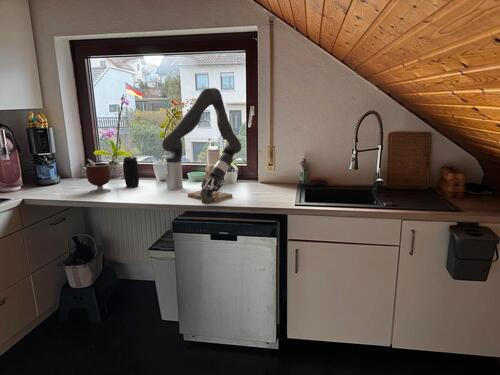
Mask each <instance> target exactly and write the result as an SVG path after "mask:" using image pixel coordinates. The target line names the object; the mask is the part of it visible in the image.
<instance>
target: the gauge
mask: <svg viewBox="0 0 500 375" xmlns="http://www.w3.org/2000/svg"><path fill="white" fill-rule="evenodd" d="M201 190H202V200H201V203H202V204H207V205H208V204H211V203H214V202H213V196H217V195H219V193H217V192H218V191H217V192H216V193H212V194H211V196H210V197H209V198H208V197H207V196H206V195H207V193H208V191H209V190H210V188H209V187H206V188H202V187H201Z"/></svg>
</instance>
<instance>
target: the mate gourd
mask: <svg viewBox="0 0 500 375" xmlns="http://www.w3.org/2000/svg"><path fill="white" fill-rule="evenodd" d="M87 161H88V162H89V164H86V165H85V173H86V174H85V175H86V178H87V182H88V183H90V184H91V185H92V186H95V187H96V188H95V189H91V190H90V191H89V193H90V194H92V195H100V194H108V193H111V192H112V189H110V188H104V185H106V184H108V183H109V182H110V180H111V177H112V176H111V166H110V164H109V163H108V162H107V163H106V162H98V163H97V162H94V161H93V160H91V159H89V158H87Z"/></svg>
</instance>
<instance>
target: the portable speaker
mask: <svg viewBox="0 0 500 375" xmlns="http://www.w3.org/2000/svg"><path fill="white" fill-rule="evenodd" d="M138 163H139V162H138V160H137V156H134V157H133V156H124V158H123V164H122V165H123V166H122V167H123V178H124V181H125V185H126V186H125V187H126V188H128V187H130V188H132V189H133V188H137V187H138V186H140V185H139V184H140V171H139V170H140V169H139V164H138Z"/></svg>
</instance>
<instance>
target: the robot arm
mask: <svg viewBox="0 0 500 375" xmlns="http://www.w3.org/2000/svg"><path fill="white" fill-rule="evenodd" d="M210 106H213V109H214V111H215V113H216V124H217V128H218V130H219V133H220V135H221V138H222V139H223V140H224V141H225V140H226V142H227V144H226V145H225V147H224V148H223V151H222V154H221V155H220V157H219V159H218V160H217V162H216V163H215V164H216V165H215V166H214V168H213V169H212V171H211V173H210V177H209V178H208V179H205V177H203V180H202V182H201V186H200V187H201V189H202V188H206V186H207V187H209V188H210V187H211V188H210V190H209V191H208V193H207V195H206V196H207V197H208V198H209V197H210V196H211V194H212V193H213V192H214V191H215V192H219V190H220V189H221V187H223V185H224V183H223V179H224V177H225V176H226V174H227V172H228V171H229V168H230V167H231V165H232V163H233V162H234V161H233V160H234V156H235V155H236V154H238V153H239V152H241V150H242V143H241V141H240V140H239V139H238V137H237V135H236V134H235V132H234V131H233V129H232V126H231V124H230V123H231V122H230V121H229V118H228V116H227V111H226V108H225V104H224V100H223V96H222V94H221V92H220V90H219V89H218V88H216V87H207V88H204V89H203V90H202V91H201V92H200V93H199V95H198V97H197V99H196V100H195V102H194V103H193V105H191V107H190V108H189V109H188V111H187V112H186V113H185V114H184V115H183V117H182V118H181V119H180V121H179V122H178V123H177V125H175V127H174V128H173V129H172V130H171V131H170V132H169V133H168V134H167V135H166V136H165V137H164V138H163V140H162V144H161V146H162V149H163V150H164V151H166V152H170V154H169V155H168V156H167V157H166V159H165V160H166V188H167V189H168V190H171V191H172V190H174V191H175V190H181V189H183V186H184V185H183V184H184V183H183V167H182V166H183V165H182V159H183V142H182V141H183V140H182V138H183V137H185V136H187V135H189V134H190V133H191V132H192V131H194V129H195V128H196V127H197V126H198V125H199V123H200V122H201V119H202V115H203V113H204V112H205V111H206V109H207V108H208V107H210ZM208 185H209V186H208ZM200 195H201V196H202V191H201V193H200Z"/></svg>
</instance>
